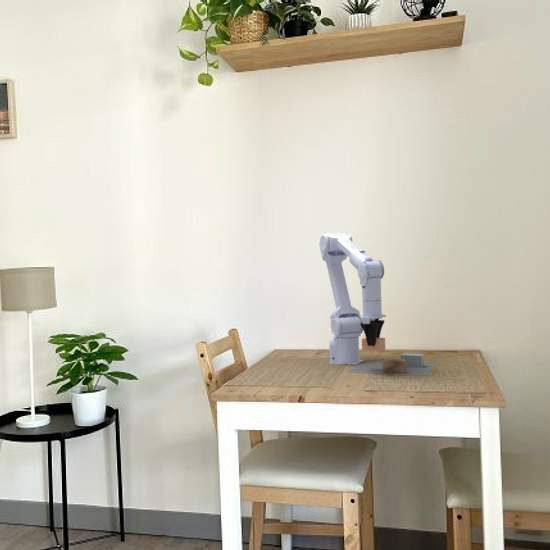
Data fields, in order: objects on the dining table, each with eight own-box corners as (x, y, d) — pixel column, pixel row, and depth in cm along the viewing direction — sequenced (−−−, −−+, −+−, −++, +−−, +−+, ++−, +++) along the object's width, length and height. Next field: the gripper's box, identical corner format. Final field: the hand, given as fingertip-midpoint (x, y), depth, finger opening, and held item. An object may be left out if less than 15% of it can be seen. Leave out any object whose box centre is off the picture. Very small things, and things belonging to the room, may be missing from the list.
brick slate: (401, 366, 194) (400, 355, 194) (403, 364, 197) (402, 353, 197) (421, 367, 191) (421, 355, 191) (423, 365, 194) (423, 354, 194)
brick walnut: (384, 373, 184) (383, 361, 184) (383, 371, 187) (382, 359, 187) (406, 373, 184) (405, 360, 183) (404, 371, 187) (404, 359, 187)
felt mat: (346, 373, 189) (346, 372, 189) (364, 362, 207) (364, 361, 207) (426, 377, 179) (426, 375, 179) (438, 364, 197) (438, 363, 197)
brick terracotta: (362, 350, 191) (361, 338, 191) (365, 348, 194) (364, 337, 194) (382, 351, 188) (382, 339, 188) (385, 349, 191) (385, 337, 191)
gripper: (378, 302, 182) (379, 348, 183) (390, 298, 195) (391, 341, 196) (355, 302, 185) (356, 348, 186) (368, 298, 198) (370, 341, 199)
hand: (373, 344), depth 191 cm, fingers closed on brick terracotta, 3 cm apart
